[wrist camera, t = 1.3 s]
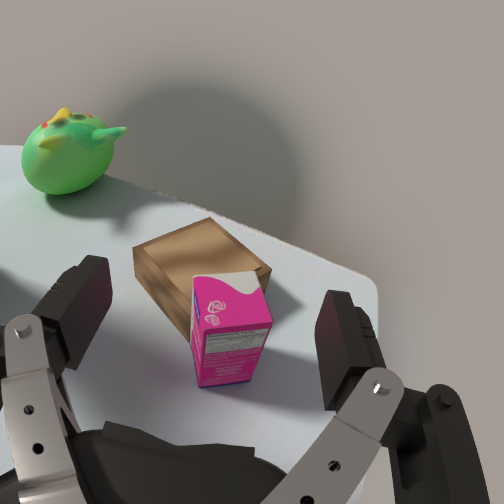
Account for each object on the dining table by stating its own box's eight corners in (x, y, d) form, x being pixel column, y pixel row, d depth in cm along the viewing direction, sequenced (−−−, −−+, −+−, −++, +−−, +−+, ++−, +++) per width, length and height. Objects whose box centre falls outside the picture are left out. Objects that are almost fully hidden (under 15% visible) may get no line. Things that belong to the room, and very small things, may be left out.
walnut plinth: (135, 276, 40) (132, 246, 36) (206, 244, 47) (210, 215, 44) (188, 342, 34) (190, 314, 31) (263, 296, 42) (272, 267, 38)
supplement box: (187, 343, 34) (192, 271, 27) (238, 338, 36) (258, 268, 29) (196, 390, 30) (202, 328, 23) (251, 382, 32) (278, 321, 25)
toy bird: (93, 157, 61) (92, 93, 52) (133, 188, 55) (134, 111, 45) (20, 186, 50) (9, 117, 40) (45, 226, 43) (29, 142, 34)
